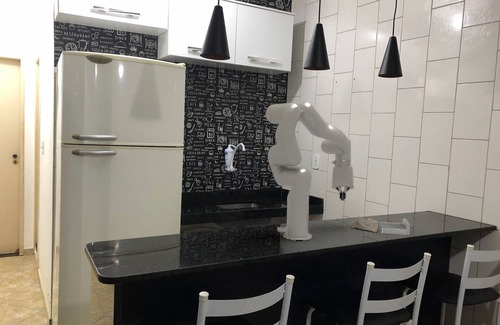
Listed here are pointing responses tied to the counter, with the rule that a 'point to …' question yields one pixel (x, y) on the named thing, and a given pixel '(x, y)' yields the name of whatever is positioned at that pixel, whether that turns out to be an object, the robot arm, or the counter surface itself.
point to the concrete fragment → (365, 224)
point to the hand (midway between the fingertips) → (342, 200)
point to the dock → (391, 227)
